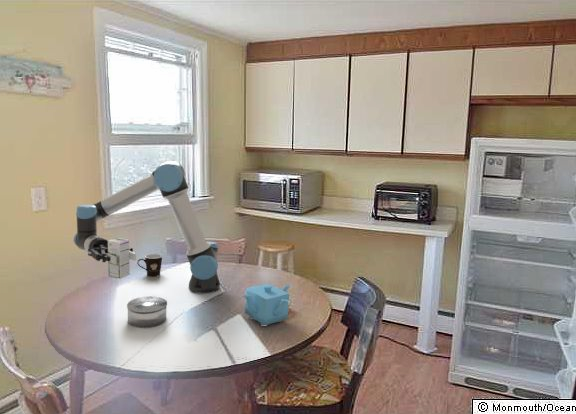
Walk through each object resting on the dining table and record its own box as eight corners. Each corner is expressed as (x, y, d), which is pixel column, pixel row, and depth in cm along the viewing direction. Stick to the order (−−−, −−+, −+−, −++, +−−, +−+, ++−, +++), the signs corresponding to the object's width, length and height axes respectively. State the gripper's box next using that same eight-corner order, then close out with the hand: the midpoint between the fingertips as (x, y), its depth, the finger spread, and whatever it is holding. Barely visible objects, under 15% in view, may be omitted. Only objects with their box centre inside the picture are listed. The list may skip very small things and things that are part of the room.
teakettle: (248, 309, 182) (249, 277, 179) (290, 312, 180) (292, 280, 178) (239, 328, 163) (241, 292, 161) (287, 332, 162) (289, 297, 159)
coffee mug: (164, 272, 221) (165, 254, 219) (158, 278, 213) (158, 259, 211) (143, 270, 222) (143, 252, 220) (136, 275, 214) (136, 257, 212)
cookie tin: (162, 310, 175) (162, 294, 174) (170, 324, 163) (171, 308, 161) (124, 315, 168) (124, 299, 167) (130, 331, 155) (130, 313, 154)
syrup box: (130, 274, 163) (130, 238, 161) (119, 279, 158) (119, 242, 155) (118, 272, 165) (118, 237, 163) (107, 276, 159) (107, 240, 157)
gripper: (120, 250, 180) (149, 263, 165) (72, 259, 165) (99, 273, 150) (120, 234, 178) (149, 245, 164) (72, 241, 163) (98, 253, 149)
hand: (125, 258), depth 157 cm, fingers closed on syrup box, 7 cm apart
